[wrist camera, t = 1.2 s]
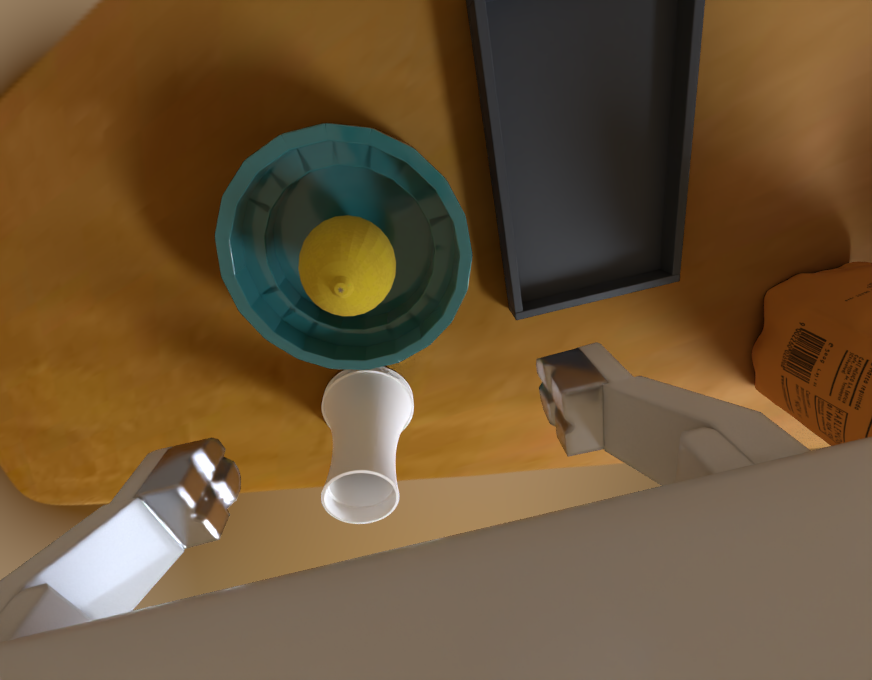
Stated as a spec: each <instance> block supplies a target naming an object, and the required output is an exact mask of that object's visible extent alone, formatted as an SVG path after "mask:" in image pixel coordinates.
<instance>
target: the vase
mask: <svg viewBox="0 0 872 680" xmlns="http://www.w3.org/2000/svg"><path fill="white" fill-rule="evenodd" d="M413 412H414V402H413V394H412V390H411V388H410V386H409V384H408V383H407V382H406V380H405V379H404V378H403V377H402V376H401V375H399V374H398V373H397V372H395V371H393V370H391V369H389V368H386V367H379V368H374V369H370V370H346V369H345V370H343V371H341V372H340V373H338V374H337V375H336V376H334V377H333V378H332V379H331V381H330V382H329V383H328V385H327V387H326V389H325V392H324V396H323V399H322V414H323V417H324V420H325V422H326V423H327V425H328V426H329V427H330V428H331V431H332V437H333V454H332V461H331V466H330V470H329V474H328V477H327V480H326V483H325V486H324V488H323V491H322V494H321V502H322V505H323V507H324V509H325V510H326V511H327V512H328V513H329V514H330V515H331V516H332V517H334V518H336V519H338V520H340V521H343V522H347V523H353V524H366V523H372V522H375V521H378V520H381V519H383V518H385V517H386V516H388V515H389V514H390V513H392V512H393V510H394V509H395V508H396V506H397V505H398V502H399V490H398V486H397V479H396V469H395V457H396V448H397V443H398V439H399V436H400V433H401V432H402V431H403V430H404V429H405V428H406V427H407V426H408V424H409V423H410V421H411V419H412V416H413Z"/></svg>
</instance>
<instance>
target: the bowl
mask: <svg viewBox="0 0 872 680" xmlns="http://www.w3.org/2000/svg"><path fill="white" fill-rule="evenodd" d="M345 215H349V216H356V217H361V218H363V219H366V220H368V221H370V222H372V223H373V224H374V225H376V226H377V227H378V228H380V229H381V230H382V232H383V233H384V234H385V235H386V236H387V238H388V239H389V241H390V243H391V245H392V247H393V250H394V255H395V260H396V273H395V278H394V281H393V284H392V287H391V289H390V291H389V292H388V294H387V295H386V297H385V298H384V300H383V301H382V302H381V303H380V304H378V305H377V306H376V307H375V308H374V309H372V310H370V311H368V312H366V313H364V314H360V315H356V316H339V315H335V314H331V313H329V312H327V311H325V310H323V309H321V308H320V307H319V306H318V305H316V304H315V303H314V302H313V301H312V300H311V299H310V297H309V296H308V295H307V294H306V292H305V290H304V288H303V286H302V283H301V280H300V275H299V269H298V267H299V254H300V251H301V248H302V246H303V243H304V241H305V239H306V238H307V236H308V235H309V234H310V232H311V231H312V230H313V229H314V228H315V227H316V226H318V225H319V224H320V223H322V222H323V221H325V220H328V219H330V218H333V217H336V216H345ZM215 242H216V249H217V255H218V261H219V267H220V273H221V277H222V279H223V281H224V283H225V285H226V287H227V289H228V291H229V293H230V295H231V297H232V299H233V301H234V303H235V305H236V307H237V309H238V311H240V313H241V314H242V315H243V316H244V317H245V318H246V319H247V321H248V322H249V323H250V324H251V325H252V326H253V327H254V328H255V329H256V330H257V331H258V332H259V333H260V334H261V335H262V336H263V337H264V338H265V339H266V340H267V341H269V342H270V343H272V344H274V345H275V346H277V347H279V348H280V349H282V350H284V351H285V352H287V353H289V354H290V355H292V356H293V357H295V358H297V359H299V360H302V361H306V362H309V363H313V364H316V365H319V366H323V367H326V368H329V369H332V368H333V369H346V370H370V369H374V368H379V367H383V366H387V365H391V364H395V363H399V362H401V361H403V360H405V359H406V358H408V357H410V356H412V355H413V354H415V353H417V352H419V351H421V350H422V349H424V348H426V347H428V346H429V345H430V344H431V343H432V342H433V341H434V340H435V339H436V338H437V337H438V336H439V335H440V334H441V333H442V332H443V331H444V330H445V329H446V328H447V327H448V326H449V325H450V324H451V322H452V321H453V319H454V317H455V315H456V313H457V311H458V309H459V307H460V305H461V302H462V300H463V298H464V296H465V294H466V292H467V290H468V284H469V277H470V270H471V263H472V256H473V255H472V248H471V243H470V237H469V231H468V226H467V220H466V217H465V214H464V212H463V210H462V208H461V206H460V204H459V202H458V200H457V199H456V197H455V195H454V193H453V191H452V189H451V187H450V185H449V184H448V182H447V180H446V179H445V177H444V176H442V175H441V174H440V173H439V172H438V171H437V170H436V169H435V168H434V167H433V166H432V165H431V164H430V163H429V162H428V161H427V160H426V159H425V158H424V157H423V156H422V155H421V154H420V153H419V152H417V151H416V150H415V149H414V148H413V147H412V146H410V145H409V144H408V143H405V142H403V141H401V140H399V139H397V138H395V137H393V136H391V135H389V134H387V133H385V132H382V131H380V130H378V129H376V128H372V127H363V126H354V125H345V124H335V123H322V124H318V125H314V126H310V127H306V128H302V129H298V130H294V131H290V132H286V133H282V134H281V135H278V136H277V137H275V138H274V139H273V140H271V141H270V142H268V143H267V144H266V145H264V146H263V147H262V148H260V149H259V150H257V151H256V152H255V153H253V154H252V155H250V156H249V157H248V158H246V160H244V161H243V163H242V165H241V166H240V168H239V169H238V171H237V173H236V174H235V176H234V177H233V179H232V181H231V182H230V184H229V185H228V187H227V189H226V190H225V192H224V193H223V196H222V198H221V204H220V209H219V215H218V220H217V225H216V231H215Z"/></svg>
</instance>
